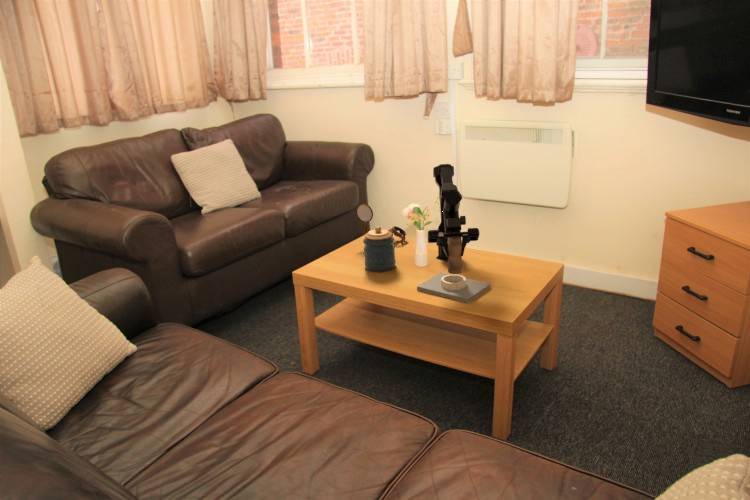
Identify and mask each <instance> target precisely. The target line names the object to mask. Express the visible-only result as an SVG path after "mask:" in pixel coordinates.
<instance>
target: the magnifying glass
mask: <svg viewBox="0 0 750 500" xmlns="http://www.w3.org/2000/svg"><path fill="white" fill-rule="evenodd" d="M356 215H357V218H358V219H359V220H360V221H361V222H362V223H363V224H364V225H363V226H364V235H365V234H366V233H368V223H369V222H371V221H372V219H373V218H374V211H373V209H372V208H371V206H370V205H368V204H366V203H361V204H359V205H358V206H357V208H356ZM365 238H366V237H365V236H364V239H365Z"/></svg>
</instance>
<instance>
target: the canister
mask: <svg viewBox="0 0 750 500" xmlns="http://www.w3.org/2000/svg"><path fill="white" fill-rule="evenodd" d="M388 230H389V229H386V228H385V229H384V228H382V227H381V226H379V225H378V226H375V227H374V229H371V230H369V231H367V233H366V234H365V233H364V238H363V239H362V242H363V245H364V247H363V252H364V253H363V255H364V267H365V269H366V270H368V271H370V272H373V273H374V272H375V273H381V272H387V271H391V270H393V269H395V267H396V261H397V260H396V254H395V247H396V246H395V244H394V242H395V238H394V236H393V237H392V233H391V232H389V231H388ZM365 237H366V238H365Z"/></svg>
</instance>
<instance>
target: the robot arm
mask: <svg viewBox="0 0 750 500" xmlns="http://www.w3.org/2000/svg"><path fill="white" fill-rule="evenodd" d="M432 171H433V172H432V174H433V178H434V181H435V184H436V185H437V186H438V190H439V191H438V198H439V209H440V223H439V225H438V227H437V229H429V230H428V231H427V243H428V244H435V243H436V246H437V250H438V251H437V252H438V253H437V256H436V257H435V258H436V259H439V260H444V261H448V237H452V236H458V237H461V238H462V257H464V255H465V254H464V253H465V249H466V246H467V245H468V244H469V243H470V242H476V241H479V237H480V229H479V228H478V227H468V228H467V231H462V226H465V225H467V220H466V219H467V217H466V215H460V214H459V213H460V212H459V211H460V210H459V209H460V207H461V206H460V205H461V201H462V200H463V195H462V194H461V192H460V190H458V186H457V184H454V181H453V177H454V176H455V168H454V166H453V165H452V164H451V163H441V164H438V165H437V166H435V167H433V169H432ZM442 211H443V212H442Z"/></svg>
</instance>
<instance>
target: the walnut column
mask: <svg viewBox="0 0 750 500" xmlns="http://www.w3.org/2000/svg"><path fill="white" fill-rule="evenodd" d="M462 257H463V256H462V237H458V236H452V237H448V260H447V274H449V275H451V274H458V275H461V273H462V272H463V271H462V270H463V269H462V266H463V261H462V260H463V259H462Z"/></svg>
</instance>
